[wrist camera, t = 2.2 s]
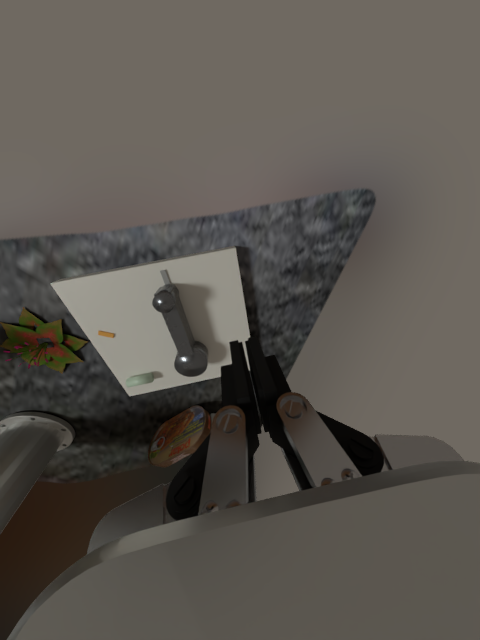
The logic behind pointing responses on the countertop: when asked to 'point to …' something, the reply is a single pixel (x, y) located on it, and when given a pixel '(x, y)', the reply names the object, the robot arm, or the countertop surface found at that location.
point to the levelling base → (159, 315)
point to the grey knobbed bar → (181, 333)
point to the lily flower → (36, 352)
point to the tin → (179, 436)
